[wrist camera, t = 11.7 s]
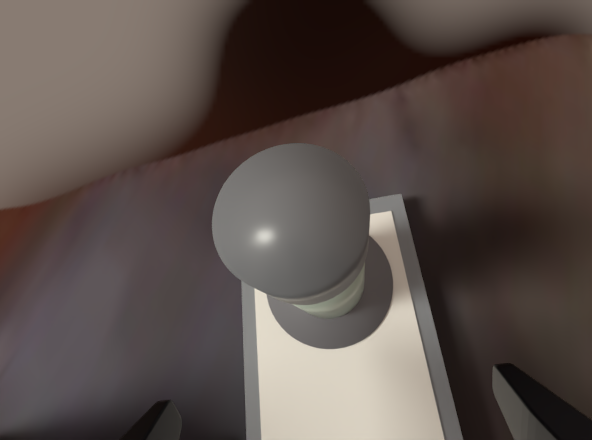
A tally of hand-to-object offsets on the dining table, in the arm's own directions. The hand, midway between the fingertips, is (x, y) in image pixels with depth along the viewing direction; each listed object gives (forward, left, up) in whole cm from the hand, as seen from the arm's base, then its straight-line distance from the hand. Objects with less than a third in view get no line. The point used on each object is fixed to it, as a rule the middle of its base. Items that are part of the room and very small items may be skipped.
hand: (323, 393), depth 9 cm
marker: (+5, 0, -7) cm, 9 cm away
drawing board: (+1, 0, -9) cm, 9 cm away
